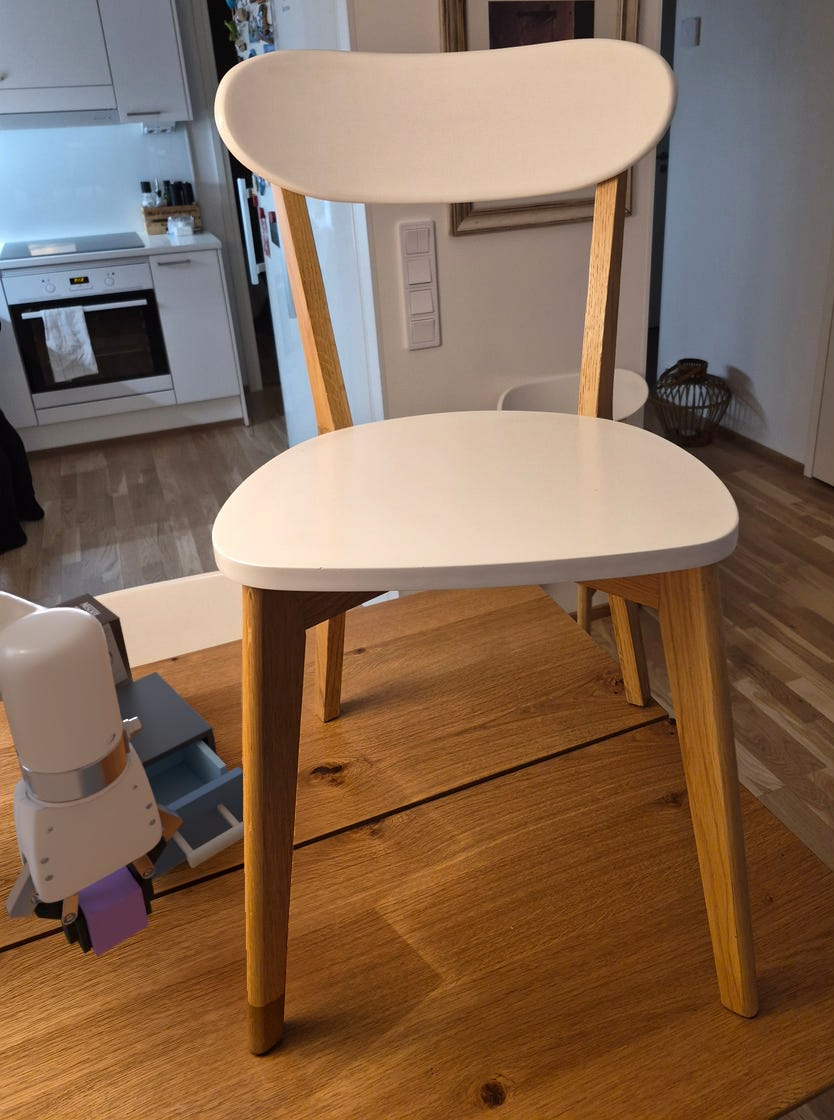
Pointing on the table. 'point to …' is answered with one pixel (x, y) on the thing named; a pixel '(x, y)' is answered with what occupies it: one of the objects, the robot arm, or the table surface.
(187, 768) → the blue drawer
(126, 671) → the coffee box
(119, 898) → the cube
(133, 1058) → the table surface
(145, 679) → the dark grey drawer cabinet
